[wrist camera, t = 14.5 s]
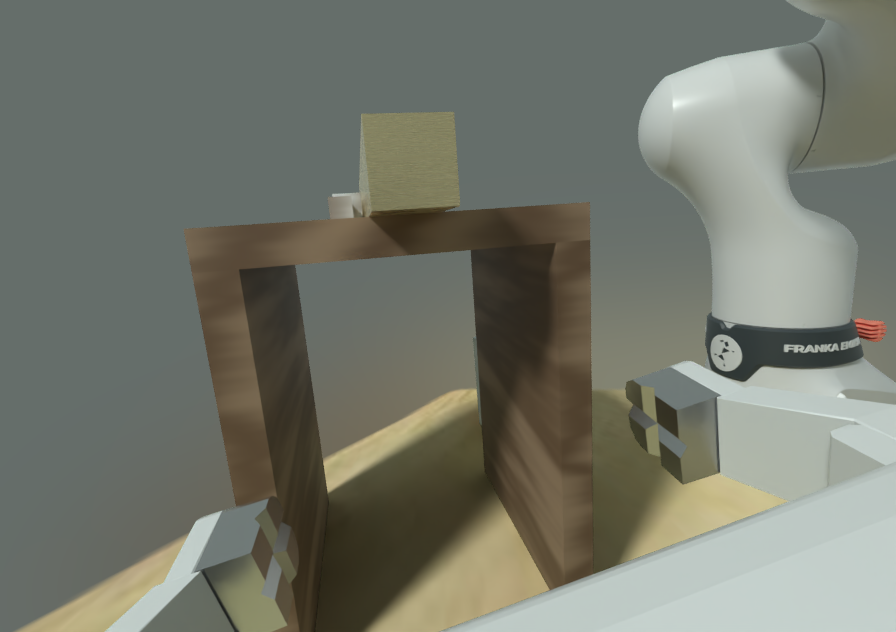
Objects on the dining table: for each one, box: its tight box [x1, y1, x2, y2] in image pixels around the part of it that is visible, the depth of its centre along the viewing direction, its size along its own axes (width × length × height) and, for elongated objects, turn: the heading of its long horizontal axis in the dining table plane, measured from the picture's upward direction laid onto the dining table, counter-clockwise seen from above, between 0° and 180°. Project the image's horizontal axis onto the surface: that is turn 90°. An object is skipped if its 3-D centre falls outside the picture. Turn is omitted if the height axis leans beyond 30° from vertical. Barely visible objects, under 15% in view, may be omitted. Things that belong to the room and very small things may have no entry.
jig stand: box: [184, 193, 593, 632], centre depth 32 cm, size 20×19×29 cm
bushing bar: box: [359, 112, 460, 217], centre depth 27 cm, size 4×22×4 cm, turn 12°
